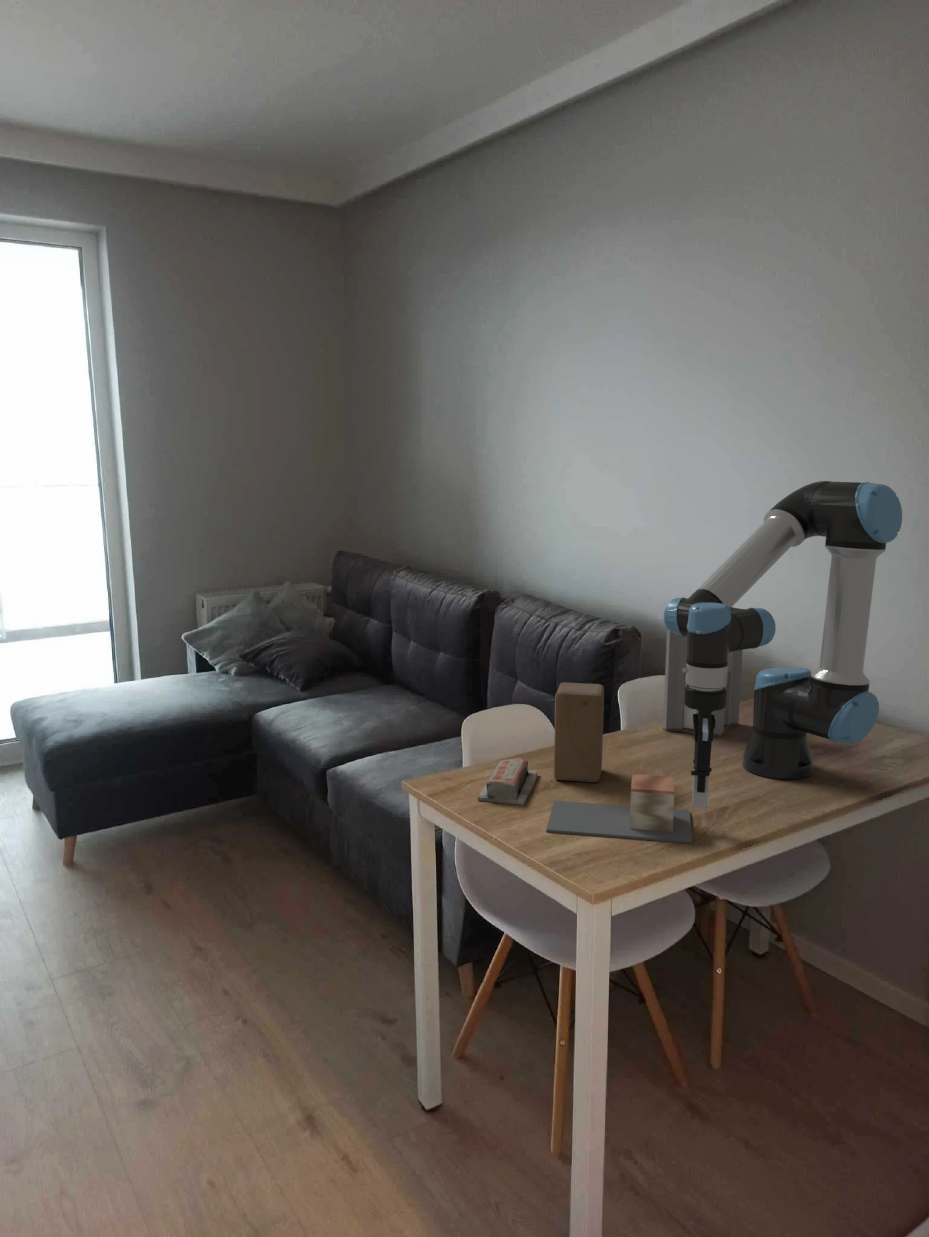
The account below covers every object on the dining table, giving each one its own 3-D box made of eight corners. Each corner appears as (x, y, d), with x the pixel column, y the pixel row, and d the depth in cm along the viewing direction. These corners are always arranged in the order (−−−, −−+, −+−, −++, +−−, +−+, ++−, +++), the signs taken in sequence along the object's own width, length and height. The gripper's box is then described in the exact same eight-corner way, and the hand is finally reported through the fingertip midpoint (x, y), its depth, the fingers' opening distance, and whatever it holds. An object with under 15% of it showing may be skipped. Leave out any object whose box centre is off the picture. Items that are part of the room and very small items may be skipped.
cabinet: (735, 723, 248) (740, 618, 243) (755, 734, 239) (761, 625, 234) (662, 729, 243) (667, 622, 238) (681, 740, 234) (686, 630, 228)
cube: (671, 815, 186) (673, 776, 184) (672, 831, 178) (674, 791, 176) (630, 812, 187) (631, 774, 186) (629, 828, 179) (631, 788, 178)
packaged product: (525, 784, 192) (477, 780, 194) (524, 807, 192) (477, 803, 195) (538, 756, 209) (494, 753, 211) (538, 777, 210) (494, 773, 212)
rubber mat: (689, 812, 188) (689, 810, 188) (692, 843, 174) (692, 840, 174) (554, 802, 194) (554, 800, 193) (546, 831, 179) (546, 829, 179)
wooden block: (599, 784, 204) (601, 694, 200) (553, 781, 206) (554, 692, 202) (602, 768, 214) (604, 683, 210) (557, 765, 216) (559, 681, 212)
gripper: (683, 676, 183) (678, 792, 187) (686, 694, 170) (680, 817, 174) (723, 678, 181) (717, 795, 186) (729, 696, 169) (722, 820, 173)
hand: (699, 805), depth 180 cm, fingers closed
